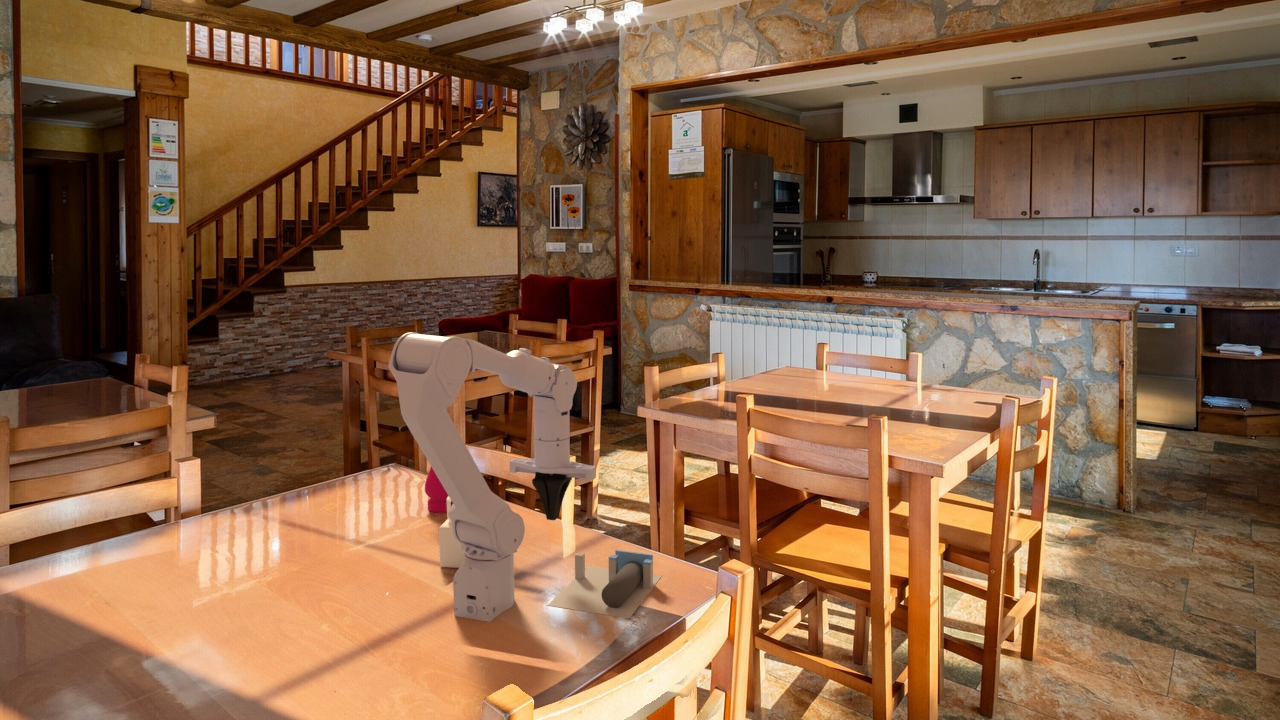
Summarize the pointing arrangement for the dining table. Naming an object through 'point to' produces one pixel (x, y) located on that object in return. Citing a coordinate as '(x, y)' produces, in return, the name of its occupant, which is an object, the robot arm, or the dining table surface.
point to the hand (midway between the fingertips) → (552, 518)
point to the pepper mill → (435, 493)
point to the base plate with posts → (592, 581)
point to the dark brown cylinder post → (622, 584)
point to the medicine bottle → (449, 544)
